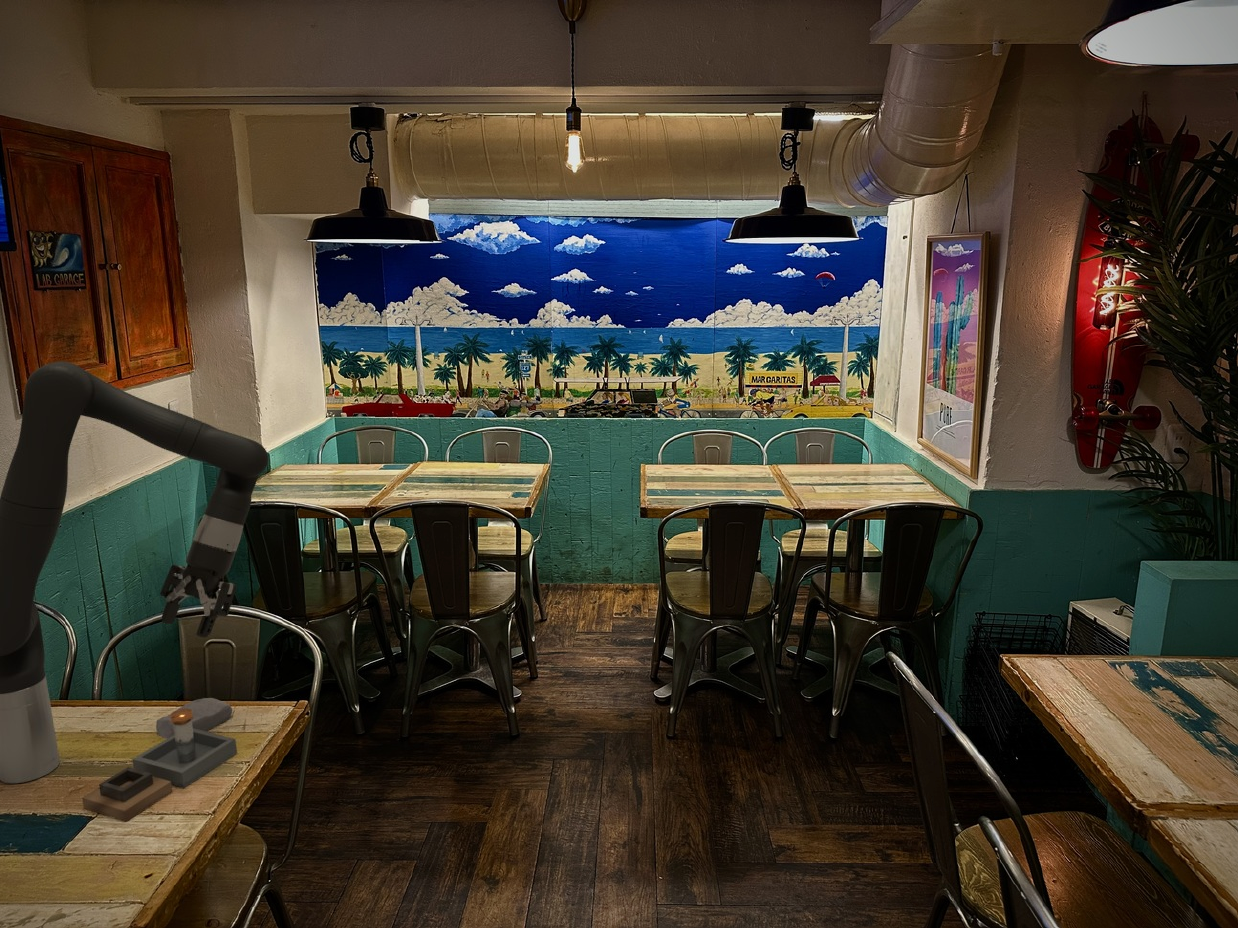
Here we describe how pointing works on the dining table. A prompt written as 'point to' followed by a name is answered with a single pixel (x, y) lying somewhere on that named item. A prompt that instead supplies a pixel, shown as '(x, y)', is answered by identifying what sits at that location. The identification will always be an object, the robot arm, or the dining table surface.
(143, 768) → the tray
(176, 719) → the pin
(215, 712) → the stone block
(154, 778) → the bracket
